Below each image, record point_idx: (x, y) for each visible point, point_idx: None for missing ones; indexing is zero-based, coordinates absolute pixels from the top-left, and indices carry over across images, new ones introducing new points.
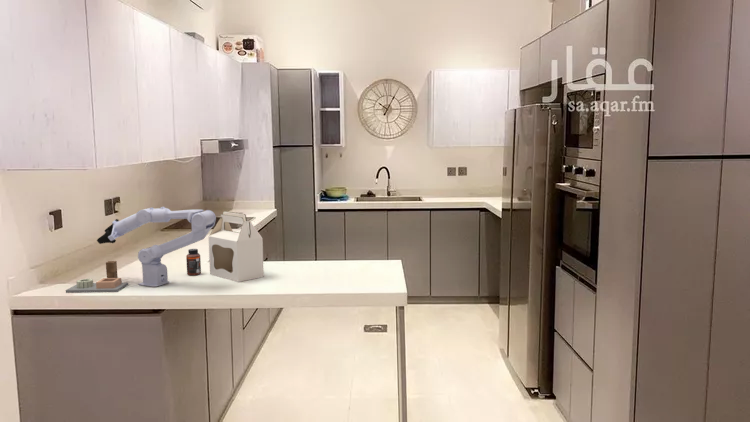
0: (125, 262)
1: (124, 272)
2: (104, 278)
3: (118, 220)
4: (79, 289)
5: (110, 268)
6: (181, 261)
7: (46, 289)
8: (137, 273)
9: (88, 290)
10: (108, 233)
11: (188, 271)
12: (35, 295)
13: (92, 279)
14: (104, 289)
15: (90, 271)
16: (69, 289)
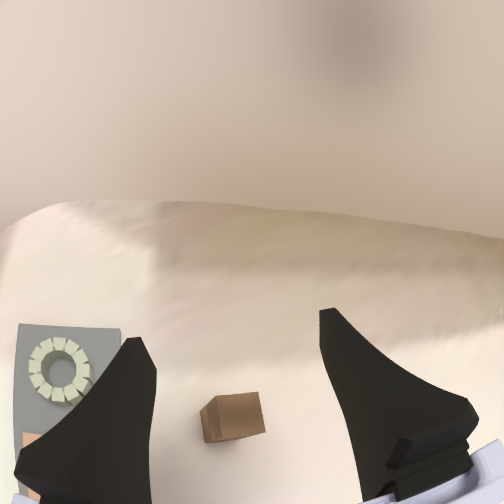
0: (440, 318)
1: None
2: None
3: (467, 433)
4: (21, 371)
5: (212, 423)
6: None
7: (78, 246)
8: (340, 459)
9: (14, 409)
10: (50, 492)
11: None
12: (12, 248)
13: (71, 397)
14: None
15: (329, 274)
16: (25, 333)
